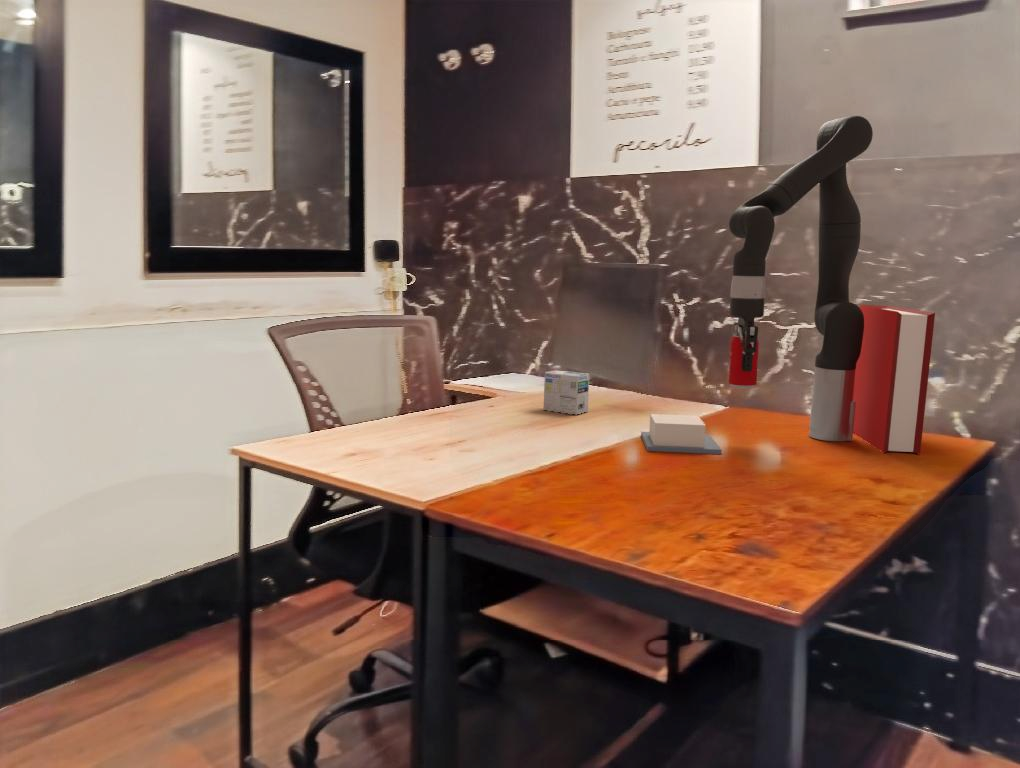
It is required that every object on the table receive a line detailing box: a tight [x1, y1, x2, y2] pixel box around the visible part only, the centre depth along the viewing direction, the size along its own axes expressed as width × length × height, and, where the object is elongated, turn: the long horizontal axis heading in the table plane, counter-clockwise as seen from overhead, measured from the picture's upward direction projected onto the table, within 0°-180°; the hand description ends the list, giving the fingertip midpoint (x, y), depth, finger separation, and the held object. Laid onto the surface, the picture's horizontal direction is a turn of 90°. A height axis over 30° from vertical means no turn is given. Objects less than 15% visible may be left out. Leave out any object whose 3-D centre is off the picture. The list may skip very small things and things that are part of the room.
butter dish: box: [640, 413, 722, 455], centre depth 191 cm, size 16×16×6 cm
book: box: [853, 304, 936, 455], centre depth 200 cm, size 27×8×32 cm, turn 175°
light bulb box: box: [543, 369, 590, 416], centre depth 228 cm, size 11×7×11 cm, turn 58°
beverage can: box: [728, 333, 760, 389], centre depth 193 cm, size 6×6×12 cm
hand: (743, 368), depth 193 cm, fingers closed on beverage can, 6 cm apart
